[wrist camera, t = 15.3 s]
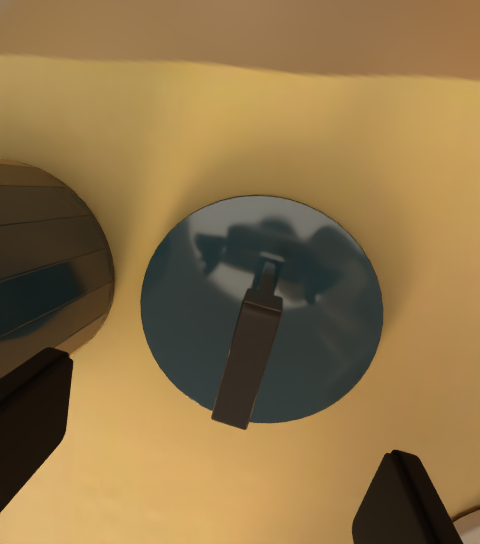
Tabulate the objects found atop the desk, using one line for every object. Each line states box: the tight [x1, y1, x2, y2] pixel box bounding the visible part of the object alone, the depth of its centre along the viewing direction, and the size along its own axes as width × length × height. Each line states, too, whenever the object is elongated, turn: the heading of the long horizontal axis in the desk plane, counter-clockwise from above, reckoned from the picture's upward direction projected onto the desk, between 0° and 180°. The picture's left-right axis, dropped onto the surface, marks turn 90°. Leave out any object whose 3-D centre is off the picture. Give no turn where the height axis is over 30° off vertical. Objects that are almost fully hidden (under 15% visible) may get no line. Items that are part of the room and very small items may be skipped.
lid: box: [141, 195, 383, 430], centre depth 16 cm, size 14×14×6 cm
